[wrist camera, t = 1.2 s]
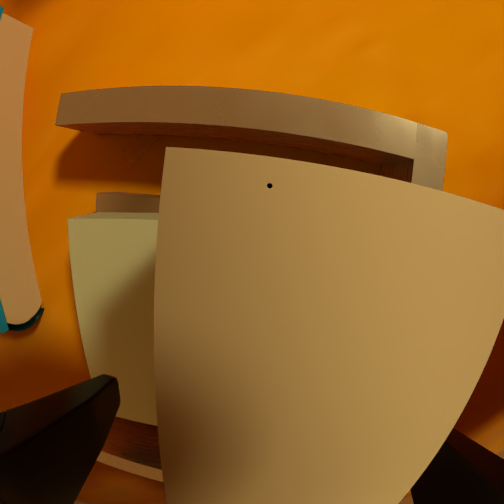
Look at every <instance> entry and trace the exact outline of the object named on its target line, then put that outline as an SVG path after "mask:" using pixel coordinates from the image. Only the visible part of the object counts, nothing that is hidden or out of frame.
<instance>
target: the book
mask: <svg viewBox="0 0 504 504" xmlns="http://www.w3.org/2000/svg"><path fill="white" fill-rule="evenodd" d="M3 9H4V8H3V7H1V6H0V333H5V332H6V331H8V330H12V331H22V330H25V329H28V328H29V327H31V326H32V325H33V324H34V323H35V322H36V321H37V320H38V319H39V317H40V316H41V314H42V312H43V310H44V308H40V306H41V304H42V300H41V296H40V292H39V288H38V284H37V279H36V274H35V270H34V265H33V259H32V254H31V248H30V242H29V235H28V228H27V221H26V212H25V202H24V191H23V175H22V113H23V98H24V87H25V77H26V69H27V62H28V55H29V49H30V44H31V38H32V33H33V28H32V27H30V26H28V25H26V24H24V23H22V22H20V21H18V20H16V19H14V18H12V17H10V16H8V15H6V14H4V13H2V12H3Z"/></svg>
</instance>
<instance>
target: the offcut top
mask: <svg viewBox="0 0 504 504" xmlns="http://www.w3.org/2000/svg"><path fill="white" fill-rule="evenodd" d="M158 217H159V213H115V212H97V213H92V214H87V215H82V216H77V217H73V218H68V235H69V249H70V261H71V271H72V280H73V288H74V296H75V303H76V309H77V316H78V322H79V327H80V333H81V338H82V343H83V348H84V352H85V357H86V361H87V366H88V370H89V374H90V378H91V379H92V378H94V377H97V376H99V375H101V374H107V375H111V376H114V377H116V378H117V380H118V384H119V392H120V406H119V409H118V411H117V414H116V417H120V418H124V419H128V420H132V421H136V422H141V423H145V424H150V425H155V426H158V425H157V411H156V393H155V368H154V289H155V263H156V245H157V230H158Z"/></svg>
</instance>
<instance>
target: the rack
mask: <svg viewBox="0 0 504 504" xmlns="http://www.w3.org/2000/svg"><path fill="white" fill-rule="evenodd" d="M55 125H56V126H61V127H65V128H70V129H74V130H79V131H83V132H88V133H92V134H142V135H171V136H189V137H204V138H216V139H227V140H237V141H247V142H256V143H264V144H272V145H279V146H286V147H293V148H300V149H306V150H312V151H318V152H324V153H329V154H335V155H340V156H345V157H350V158H355V159H360V160H365V161H370V162H374V163H379V164H382V168H381V176H383V177H388V178H392V179H396V180H401V181H405V182H409V183H413V184H417V185H421V186H425V187H429V188H433V189H436V190H440V191H442V189H443V181H444V172H445V161H446V149H447V133H446V132H444V131H441V130H438V129H435V128H432V127H429V126H426V125H423V124H420V123H416V122H413V121H410V120H406V119H403V118H400V117H396V116H392V115H389V114H385V113H381V112H377V111H373V110H369V109H365V108H361V107H356V106H352V105H347V104H343V103H338V102H333V101H327V100H322V99H316V98H311V97H305V96H298V95H291V94H284V93H277V92H268V91H259V90H249V89H238V88H224V87H205V86H139V87H120V88H107V89H96V90H86V91H78V92H70V93H63V94H61V97H60V102H59V107H58V112H57V118H56V124H55ZM96 461H99V462H101V463H104V464H107V465H109V466H112V467H115V468H118V469H121V470H124V471H127V472H130V473H133V474H136V475H140V476H143V477H146V478H150V479H153V480H157V481H161V482H163V475H162V466H161V457H160V448H159V437H158V427H155V426H151V425H147V424H144V423H140V422H136V421H132V420H128V419H124V418H120V417H116V416H115V419H114V421H113V424H112V426H111V429H110V432H109V434H108V437H107V439H106V442H105V444H104V447H103V449H102V451H101V453H100V454H99V456H98V458H97V460H96Z"/></svg>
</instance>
